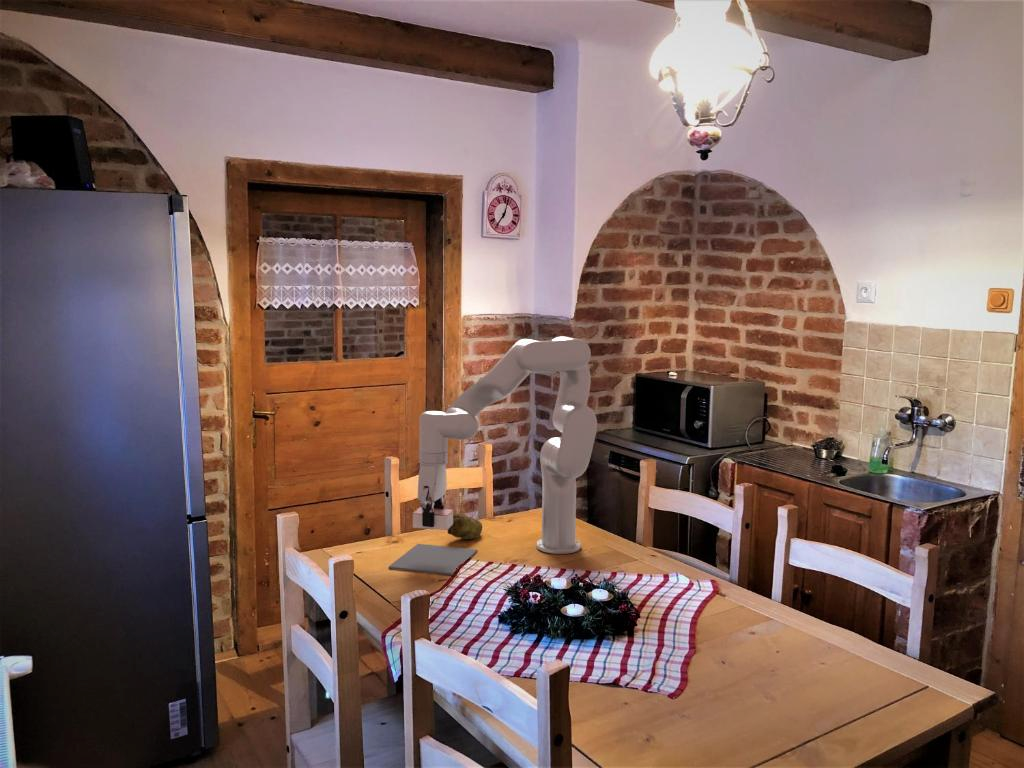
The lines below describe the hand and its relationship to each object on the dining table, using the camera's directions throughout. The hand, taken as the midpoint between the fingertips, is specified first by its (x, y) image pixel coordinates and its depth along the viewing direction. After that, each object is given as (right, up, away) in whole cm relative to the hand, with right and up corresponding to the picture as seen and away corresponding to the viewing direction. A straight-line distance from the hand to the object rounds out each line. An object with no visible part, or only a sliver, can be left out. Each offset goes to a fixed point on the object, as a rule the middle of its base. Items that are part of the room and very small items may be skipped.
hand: (433, 522), depth 222 cm
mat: (0, -10, +1) cm, 11 cm away
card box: (0, -1, 0) cm, 1 cm away
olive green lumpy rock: (+8, -8, +20) cm, 23 cm away
